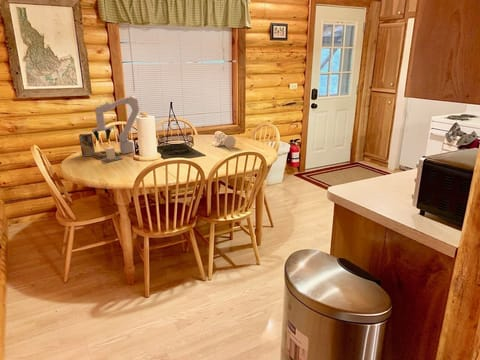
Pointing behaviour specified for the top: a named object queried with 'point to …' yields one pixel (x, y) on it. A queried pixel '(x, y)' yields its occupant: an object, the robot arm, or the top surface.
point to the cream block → (110, 153)
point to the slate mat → (112, 159)
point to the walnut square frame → (101, 154)
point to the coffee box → (87, 144)
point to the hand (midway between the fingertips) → (103, 140)
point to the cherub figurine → (224, 140)
